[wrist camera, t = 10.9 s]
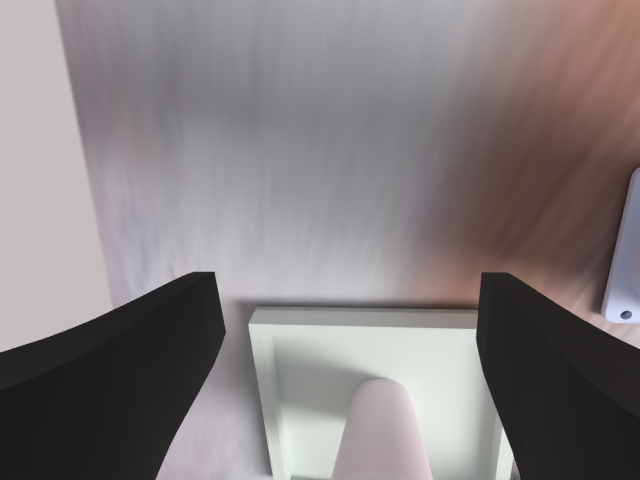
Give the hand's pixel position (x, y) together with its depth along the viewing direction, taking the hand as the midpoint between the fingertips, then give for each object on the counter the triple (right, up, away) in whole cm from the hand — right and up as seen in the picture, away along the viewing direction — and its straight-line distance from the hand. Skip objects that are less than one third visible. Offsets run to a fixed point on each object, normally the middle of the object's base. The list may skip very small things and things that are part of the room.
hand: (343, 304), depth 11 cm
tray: (+3, -9, +15) cm, 17 cm away
